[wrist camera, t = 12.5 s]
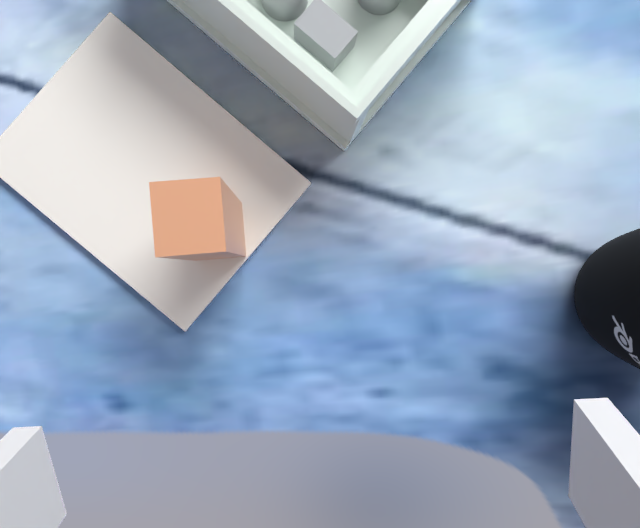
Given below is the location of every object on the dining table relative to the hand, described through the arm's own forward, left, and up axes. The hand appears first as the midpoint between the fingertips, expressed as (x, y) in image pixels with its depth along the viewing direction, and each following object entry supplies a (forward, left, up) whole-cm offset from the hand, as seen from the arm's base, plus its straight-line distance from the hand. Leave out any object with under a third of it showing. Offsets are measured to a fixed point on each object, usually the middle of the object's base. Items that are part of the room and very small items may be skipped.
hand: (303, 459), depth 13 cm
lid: (+14, -2, -19) cm, 24 cm away
